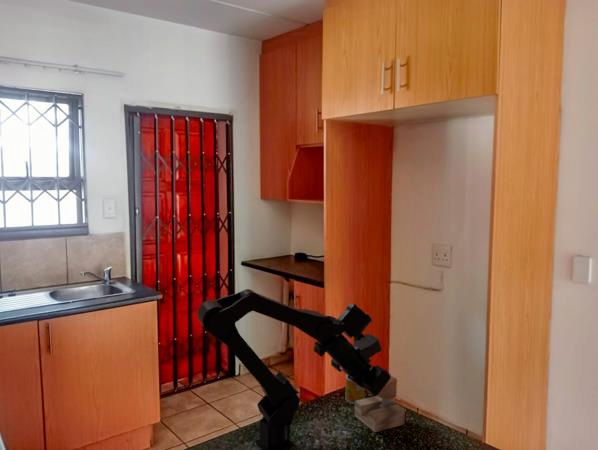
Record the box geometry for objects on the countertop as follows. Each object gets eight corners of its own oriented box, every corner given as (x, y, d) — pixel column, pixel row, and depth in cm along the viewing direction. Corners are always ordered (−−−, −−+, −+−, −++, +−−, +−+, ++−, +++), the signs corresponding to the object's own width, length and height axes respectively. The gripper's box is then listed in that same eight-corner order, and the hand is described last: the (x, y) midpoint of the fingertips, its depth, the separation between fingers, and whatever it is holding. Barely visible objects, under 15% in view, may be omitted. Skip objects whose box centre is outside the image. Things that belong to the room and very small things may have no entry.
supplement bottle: (341, 398, 131) (342, 364, 131) (357, 394, 134) (358, 361, 133) (351, 406, 127) (352, 371, 126) (368, 402, 129) (369, 368, 128)
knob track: (374, 432, 113) (375, 416, 113) (354, 415, 121) (354, 400, 121) (404, 424, 117) (404, 409, 117) (382, 408, 125) (383, 394, 125)
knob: (383, 419, 117) (384, 385, 116) (371, 410, 121) (372, 377, 120) (400, 414, 119) (401, 381, 118) (387, 406, 124) (388, 373, 123)
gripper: (386, 337, 106) (421, 377, 112) (343, 316, 123) (375, 352, 129) (355, 375, 103) (392, 415, 109) (315, 349, 120) (349, 384, 126)
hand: (377, 389), depth 118 cm, fingers closed, pressing on knob
